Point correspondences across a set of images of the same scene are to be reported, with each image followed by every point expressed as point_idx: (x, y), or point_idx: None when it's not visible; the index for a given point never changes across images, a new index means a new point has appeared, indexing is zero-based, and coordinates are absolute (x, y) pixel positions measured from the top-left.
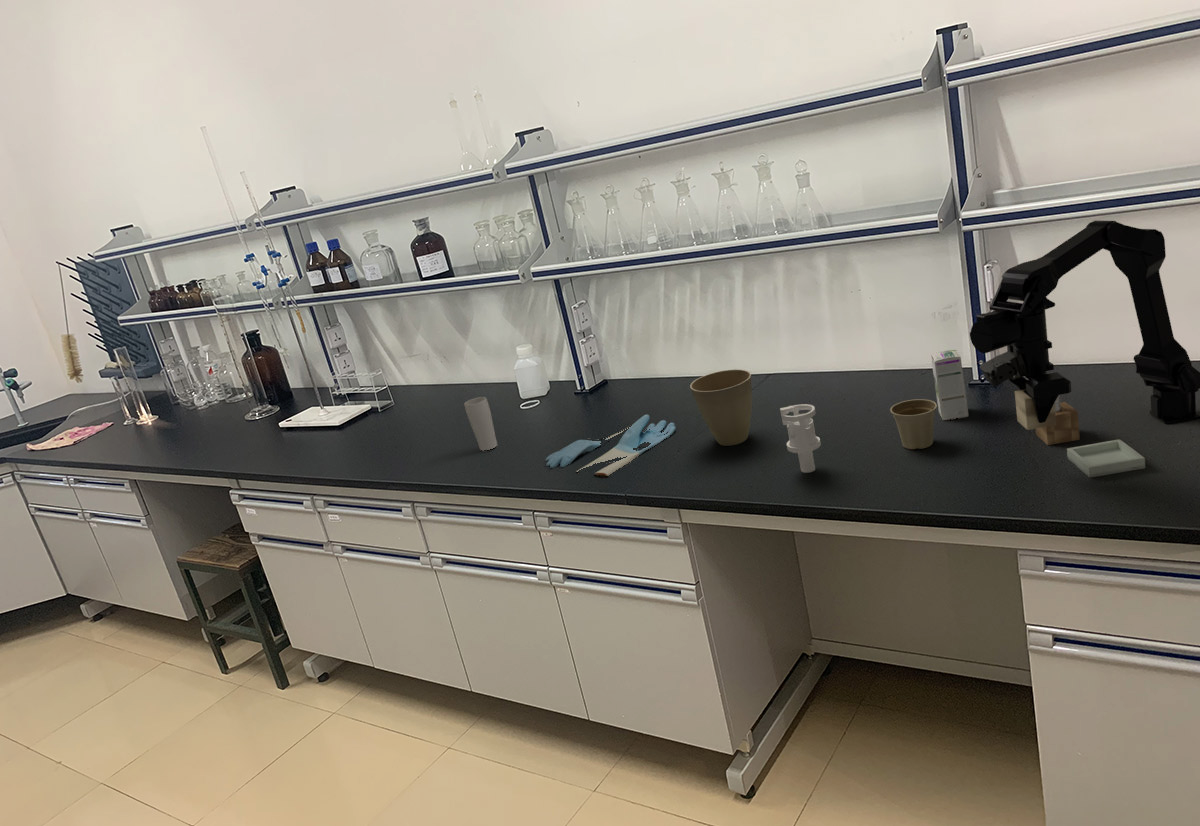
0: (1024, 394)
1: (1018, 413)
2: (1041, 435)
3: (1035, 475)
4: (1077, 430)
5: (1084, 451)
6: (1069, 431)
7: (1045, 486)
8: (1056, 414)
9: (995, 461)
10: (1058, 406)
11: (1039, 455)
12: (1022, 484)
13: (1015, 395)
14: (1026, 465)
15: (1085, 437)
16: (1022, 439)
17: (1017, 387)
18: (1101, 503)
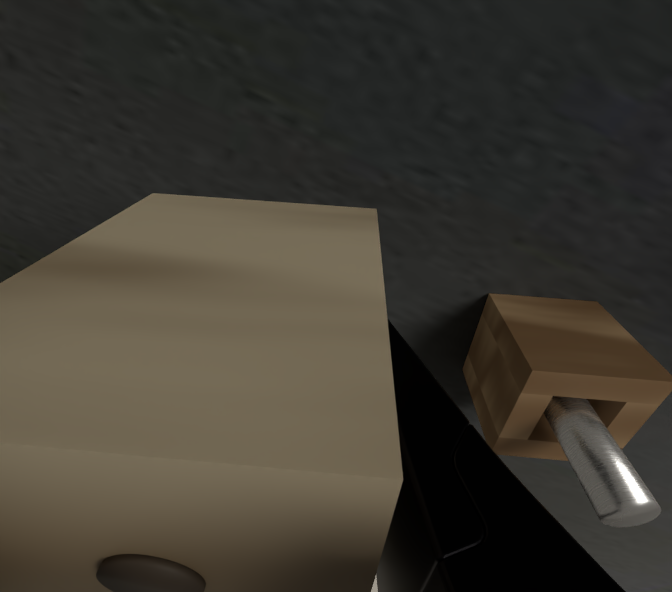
0: (106, 503)
1: (322, 240)
2: (550, 307)
3: (270, 150)
4: (471, 389)
5: None
6: (479, 373)
7: (164, 140)
8: (523, 405)
9: (490, 51)
10: (560, 441)
11: (430, 238)
12: (201, 62)
13: (366, 395)
14: (373, 160)
15: (465, 383)
16: (603, 250)
17: (565, 559)
18: (19, 234)
